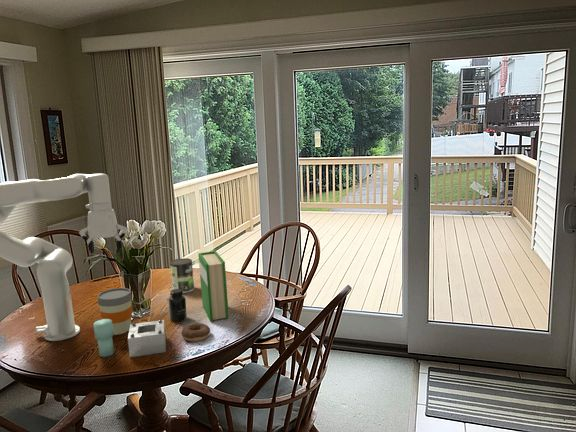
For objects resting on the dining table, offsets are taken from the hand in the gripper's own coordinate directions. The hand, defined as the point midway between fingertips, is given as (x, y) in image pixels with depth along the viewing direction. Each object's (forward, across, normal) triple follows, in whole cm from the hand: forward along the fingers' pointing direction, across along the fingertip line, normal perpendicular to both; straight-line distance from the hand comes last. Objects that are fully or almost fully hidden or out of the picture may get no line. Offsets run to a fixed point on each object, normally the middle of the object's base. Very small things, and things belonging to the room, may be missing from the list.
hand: (105, 251), depth 182 cm
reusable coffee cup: (+32, +2, -1) cm, 32 cm away
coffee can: (+32, +25, +38) cm, 55 cm away
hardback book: (+32, +39, +5) cm, 51 cm away
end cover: (+32, +1, -21) cm, 38 cm away
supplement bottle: (+32, +24, +3) cm, 40 cm away
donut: (+32, +32, -15) cm, 47 cm away
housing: (+32, +15, -19) cm, 40 cm away
